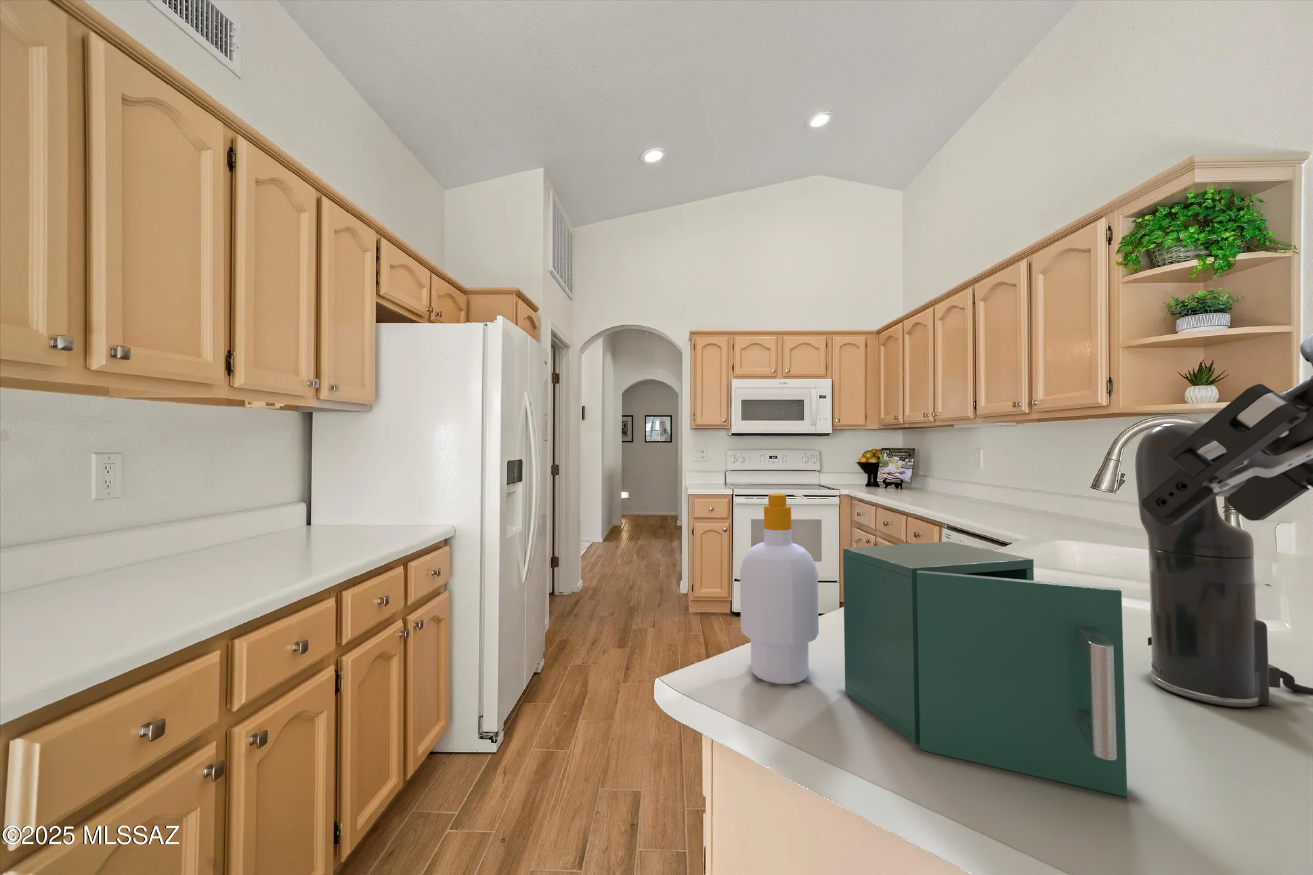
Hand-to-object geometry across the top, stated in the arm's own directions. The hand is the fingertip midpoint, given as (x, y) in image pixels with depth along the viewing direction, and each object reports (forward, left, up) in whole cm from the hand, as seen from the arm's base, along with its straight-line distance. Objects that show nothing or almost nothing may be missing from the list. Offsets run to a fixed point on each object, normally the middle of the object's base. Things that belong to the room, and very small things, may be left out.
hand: (1199, 513), depth 37 cm
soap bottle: (+30, -28, -26) cm, 49 cm away
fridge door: (+9, -9, -25) cm, 28 cm away
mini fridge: (+12, -23, -26) cm, 37 cm away
